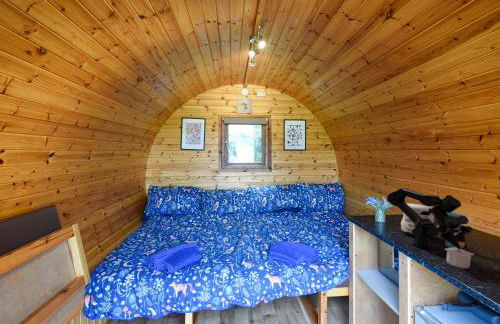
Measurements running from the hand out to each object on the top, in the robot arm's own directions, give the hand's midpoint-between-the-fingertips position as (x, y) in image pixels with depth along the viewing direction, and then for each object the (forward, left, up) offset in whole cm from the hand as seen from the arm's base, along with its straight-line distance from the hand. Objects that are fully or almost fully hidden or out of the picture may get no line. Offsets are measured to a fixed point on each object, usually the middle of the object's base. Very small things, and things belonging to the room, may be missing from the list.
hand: (462, 248), depth 110 cm
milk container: (-35, +22, -8) cm, 43 cm away
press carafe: (-1, +1, -8) cm, 8 cm away
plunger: (-1, 0, -7) cm, 7 cm away
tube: (-16, +22, -8) cm, 29 cm away
